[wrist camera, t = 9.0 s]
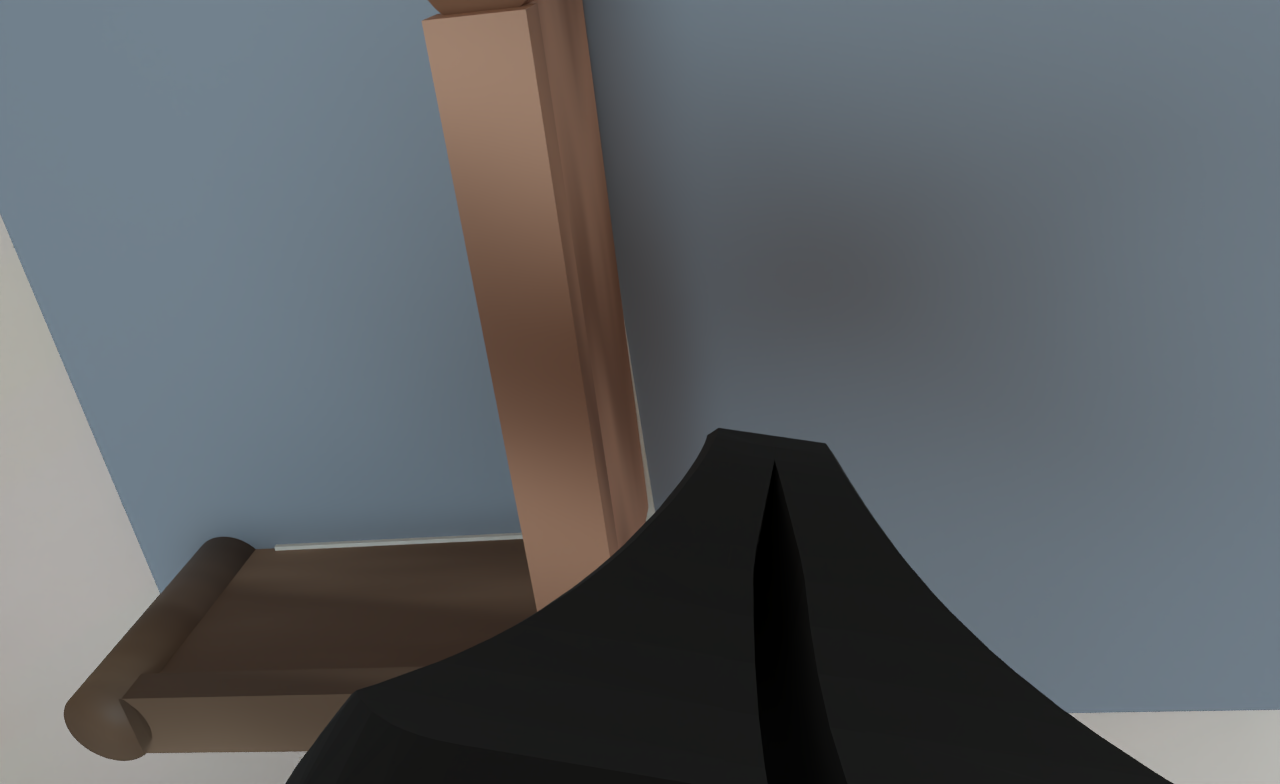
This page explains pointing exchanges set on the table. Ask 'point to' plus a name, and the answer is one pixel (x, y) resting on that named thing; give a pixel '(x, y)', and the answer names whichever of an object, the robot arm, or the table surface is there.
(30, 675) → the table surface
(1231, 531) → the board
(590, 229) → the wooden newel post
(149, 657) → the dark brown wooden bar
